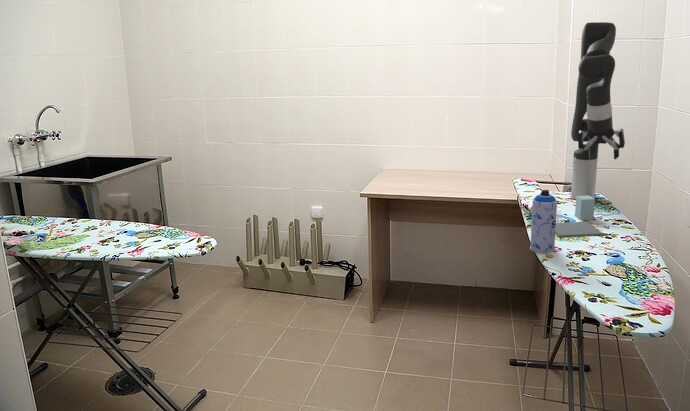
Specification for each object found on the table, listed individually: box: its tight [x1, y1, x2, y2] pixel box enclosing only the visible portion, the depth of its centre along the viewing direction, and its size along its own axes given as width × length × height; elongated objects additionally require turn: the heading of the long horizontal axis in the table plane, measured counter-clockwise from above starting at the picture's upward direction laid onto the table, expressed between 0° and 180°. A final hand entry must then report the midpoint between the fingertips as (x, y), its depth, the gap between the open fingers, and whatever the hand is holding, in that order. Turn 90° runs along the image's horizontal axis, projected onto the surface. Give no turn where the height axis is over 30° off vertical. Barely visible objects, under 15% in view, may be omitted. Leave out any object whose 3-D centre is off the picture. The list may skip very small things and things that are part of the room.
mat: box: [555, 221, 604, 238], centre depth 203 cm, size 13×15×1 cm
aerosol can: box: [529, 189, 558, 254], centre depth 185 cm, size 8×8×20 cm
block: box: [574, 195, 596, 221], centre depth 215 cm, size 5×5×8 cm
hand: (601, 158), depth 196 cm, fingers open, 8 cm apart
